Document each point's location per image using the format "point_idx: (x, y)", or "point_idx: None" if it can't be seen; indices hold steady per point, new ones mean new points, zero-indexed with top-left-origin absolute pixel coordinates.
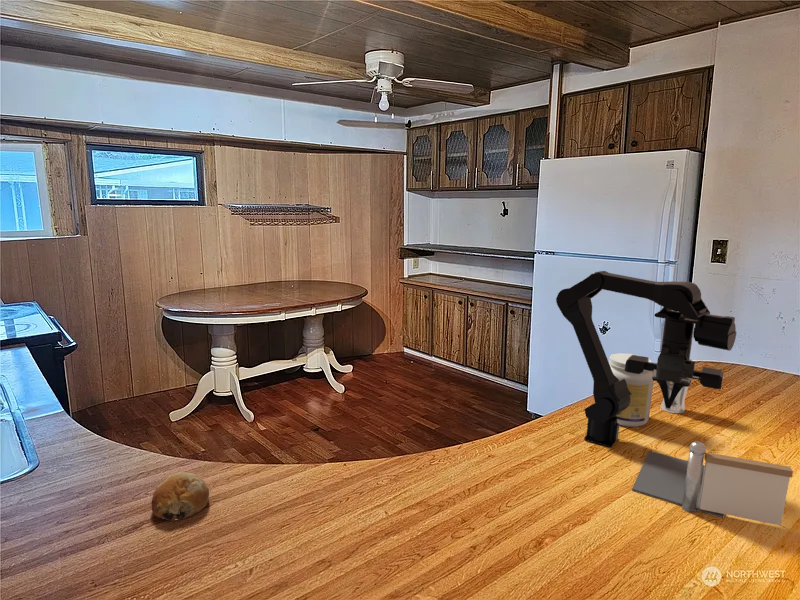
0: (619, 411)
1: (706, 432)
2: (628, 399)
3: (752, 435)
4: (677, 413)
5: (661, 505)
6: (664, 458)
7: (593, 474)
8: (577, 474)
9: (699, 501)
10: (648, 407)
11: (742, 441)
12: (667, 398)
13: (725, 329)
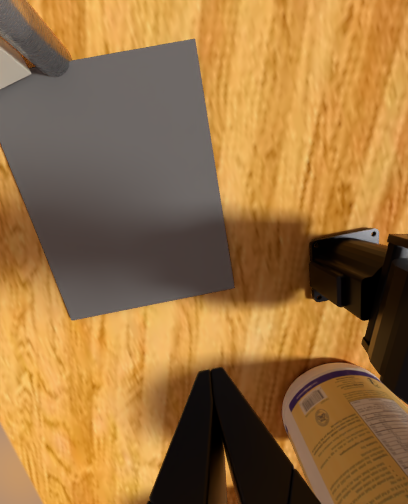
0: (392, 283)
1: None
2: (405, 381)
3: (111, 497)
4: None
5: (109, 20)
6: (194, 276)
7: (301, 53)
8: (336, 13)
9: (19, 62)
10: (301, 450)
11: (114, 464)
12: (228, 433)
13: None
